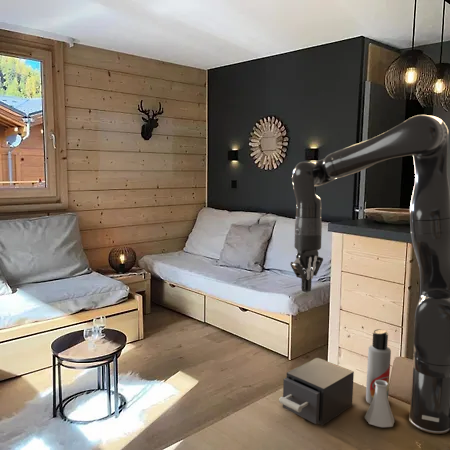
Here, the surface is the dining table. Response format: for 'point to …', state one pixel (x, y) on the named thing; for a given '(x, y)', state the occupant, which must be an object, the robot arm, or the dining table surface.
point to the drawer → (301, 399)
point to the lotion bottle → (378, 363)
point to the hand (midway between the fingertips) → (306, 291)
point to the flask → (380, 407)
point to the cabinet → (327, 385)
